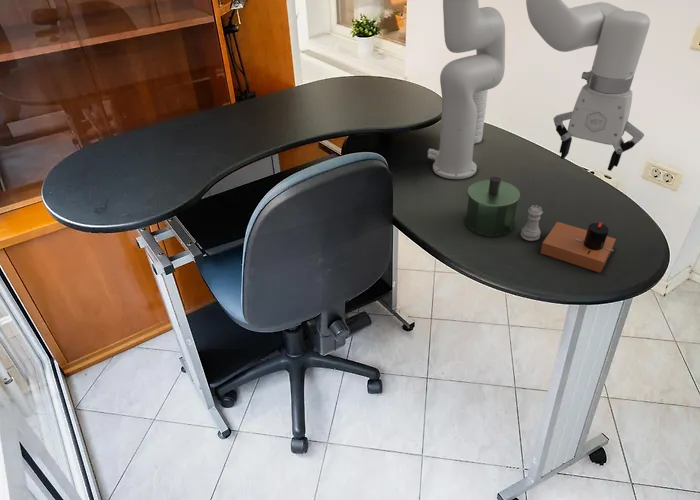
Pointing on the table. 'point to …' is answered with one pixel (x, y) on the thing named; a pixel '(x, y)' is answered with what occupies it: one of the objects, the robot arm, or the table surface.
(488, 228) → the pot
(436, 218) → the table surface
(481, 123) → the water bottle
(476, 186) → the pot lid
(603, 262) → the knob base block
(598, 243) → the stove knob
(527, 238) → the rook chess piece
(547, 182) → the table surface
